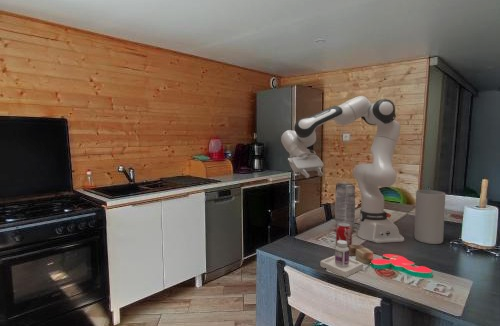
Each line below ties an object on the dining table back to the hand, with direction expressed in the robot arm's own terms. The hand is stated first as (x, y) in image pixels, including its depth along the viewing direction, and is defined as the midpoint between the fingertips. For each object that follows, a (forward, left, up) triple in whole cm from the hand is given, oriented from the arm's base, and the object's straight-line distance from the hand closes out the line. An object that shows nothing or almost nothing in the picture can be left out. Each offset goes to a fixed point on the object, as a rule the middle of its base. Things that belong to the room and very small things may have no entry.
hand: (315, 176), depth 140 cm
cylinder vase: (-59, -6, -34) cm, 68 cm away
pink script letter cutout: (-31, +28, -35) cm, 54 cm away
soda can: (-13, +7, -34) cm, 37 cm away
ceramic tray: (-7, +27, -34) cm, 44 cm away
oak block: (-18, +21, -34) cm, 44 cm away
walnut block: (-17, +14, -34) cm, 41 cm away
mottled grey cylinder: (-22, -26, -34) cm, 48 cm away
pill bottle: (-7, +27, -33) cm, 43 cm away
